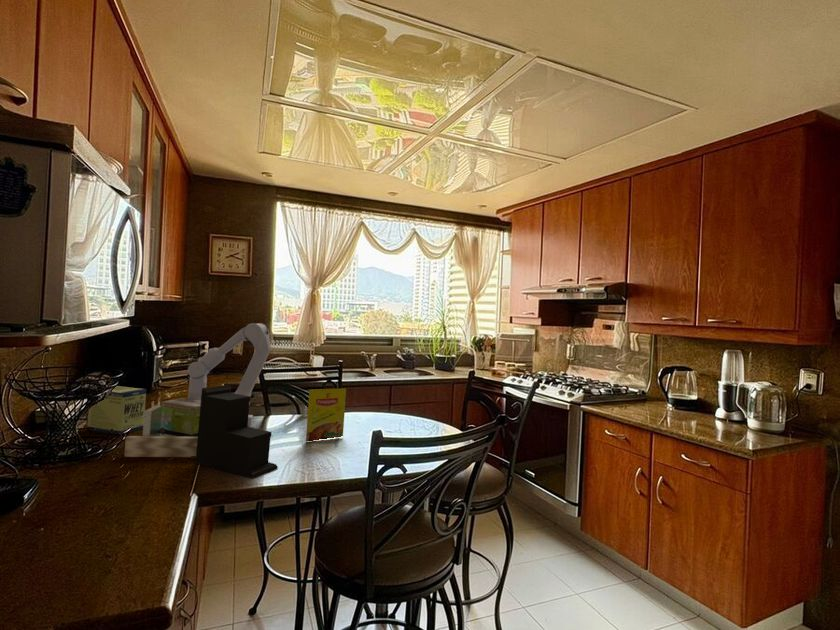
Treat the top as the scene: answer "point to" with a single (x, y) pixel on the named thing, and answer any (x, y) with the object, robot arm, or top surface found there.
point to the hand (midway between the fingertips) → (194, 430)
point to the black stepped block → (231, 435)
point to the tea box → (180, 417)
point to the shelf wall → (160, 446)
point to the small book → (152, 421)
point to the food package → (325, 413)
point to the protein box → (119, 411)
